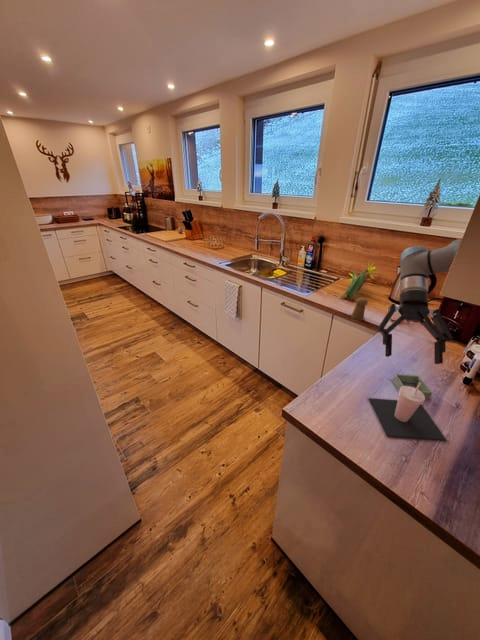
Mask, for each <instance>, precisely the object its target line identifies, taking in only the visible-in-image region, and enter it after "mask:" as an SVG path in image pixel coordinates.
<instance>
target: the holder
mask: <svg viewBox="0 0 480 640" xmlns="http://www.w3.org/2000/svg"><path fill="white" fill-rule="evenodd" d="M391 381H392V383H393V385H394V386H395V387H396V389H397V391H399V390H400V388H401V387H402V386H405V385H404V383H408V384H415V385H416V386H417V385H418V383H419V382H420V383H421V385H420V387H419V389H418V390H419V391H421V392H422V393H423V394H424V396H425V400H430V398H431V396H432V395H433V392H432V390H431V389H430V387H428V385H427V384H426V383H425V382H424V380H423V379H422V377H420V375H417V374H416V375H415V374H399V373H394V375H393V377H392V379H391Z"/></svg>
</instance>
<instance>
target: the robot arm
mask: <svg viewBox="0 0 480 640" xmlns="http://www.w3.org/2000/svg"><path fill="white" fill-rule="evenodd" d="M462 238H463V237H462ZM462 238H457V239H454V240H452V241H451V242H450V243H448V245H447V246H444V247H440V248H436V249H432V250H428V248H427V247H425V246H421V245H418V246H415V245H413V246H410V247H407V248H405V249H404V250H403V251H402V252H401V255H400V261H399V262H400V263H399V266H400V267H399V270H400V275H399V276H400V277H399V278H400V279H399V281H400V282H399V305H398V306H396V305H397V304H395V303H392V304H391V305H389V307H388V309H387V310H388V313H387V312H386V314H385V316H384V318H383V319H382V320H381V322H380V323H379V325H378V326H377V328H376V330H375V331H376V333H379V334H381V336H382V345H384V346H385V351H384V354H385V355H384V356H385V357H387V358H389V357H390V356H391V357H392V355H393V354H392V353H393V334H392V333H391V332H392V331H393V330H394V329H396V327H397V326H399V325H400V324H401V323H402V322H403V321H406V322H407V323H415V324H418V323H419V324H420V325H421V326H423V327H424V328H425V329H426V331H428V332H429V334H430V336H432V337H433V338H434V339H435V342H433V343H434V344H433V345H434V347H433V348H434V350H433V351H434V364H435V365H439V364H444V353H446V348H447V347H446V346H447V345H446V343H447V342H450V341H452V340H454V337H453V335H452V333H451V331H450V329H449V327H448V326H447V324H446V323H445V320H444V319H443V317H442V314H441V310H440V309H439V308H436V309H429V293H428V292H429V276H431V275H432V276H433V275H436V274H437V275H438V274H442V273H443V274H444V273H449V272H450V271H449V268H450V266H451V264H452V261H453V259H454V257H455V255H456V252H457V249H458V247H459V244H460V242H461V239H462ZM448 271H449V272H448ZM397 310H398V312H399V313H400V314H401V316H400V317H399V318H398V319H397V320H394V321H393V322H392V323H391V324H390V325H389V326H388V327H386V326H387V324H388V323H389V322H390V320H391V319H390V318H391V317H392V315H393V314H394V313H395V312H396V311H397ZM431 318H432V319H431ZM432 321H433V322H432ZM385 327H386V328H385Z"/></svg>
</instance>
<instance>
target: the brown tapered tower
mask: <svg viewBox="0 0 480 640" xmlns="http://www.w3.org/2000/svg"><path fill="white" fill-rule="evenodd" d="M367 305H368V299H367V298H365V297H362V296H361V297H357V298H356V300H355V307H354V308H353V311H352V312H351V315H350V317H351V319H352V320H354V321H358V322H361V321H363V320H364V319H365V318H364V317H365V309H366V306H367Z"/></svg>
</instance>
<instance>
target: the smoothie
mask: <svg viewBox="0 0 480 640" xmlns="http://www.w3.org/2000/svg"><path fill="white" fill-rule="evenodd" d="M420 385H421V383H420V382H419V383H418V385H416V387H413V386H409V385H404V386H402V387H401V388H400V390H398V398H397V400H398V402H397V406H396V410H395V417H396V418H397V419H398V420H399V421H402V422H407V421H408V420H409V419H410V417H411V416H412V415H413V413H414V412H415V411H416V410H417V408H418V407H419V406H420V404H421V405H422V404H424V403H425V400H426V399H425V396H424V394H423V393H422V392H421V390H420V389H419V387H420Z"/></svg>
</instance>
